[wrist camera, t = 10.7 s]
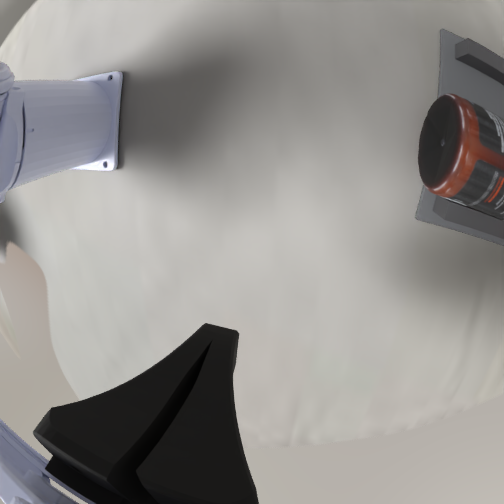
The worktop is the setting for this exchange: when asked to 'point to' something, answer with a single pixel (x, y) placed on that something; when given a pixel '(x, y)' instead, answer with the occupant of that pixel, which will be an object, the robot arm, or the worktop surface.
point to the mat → (483, 94)
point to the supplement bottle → (463, 154)
